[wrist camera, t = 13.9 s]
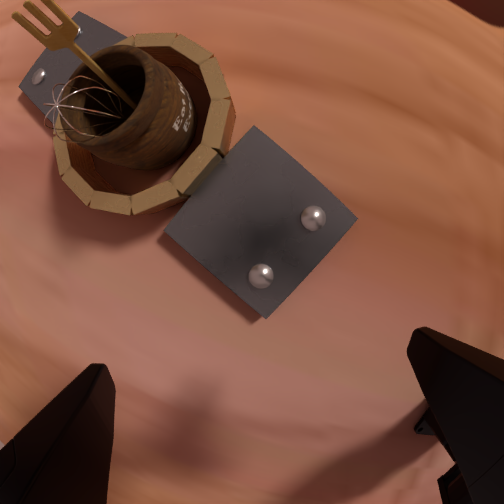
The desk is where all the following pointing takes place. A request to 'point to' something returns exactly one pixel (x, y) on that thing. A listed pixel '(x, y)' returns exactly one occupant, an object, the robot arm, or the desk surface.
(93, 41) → the wooden ring bracket
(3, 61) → the desk surface
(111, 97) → the utensil holder
